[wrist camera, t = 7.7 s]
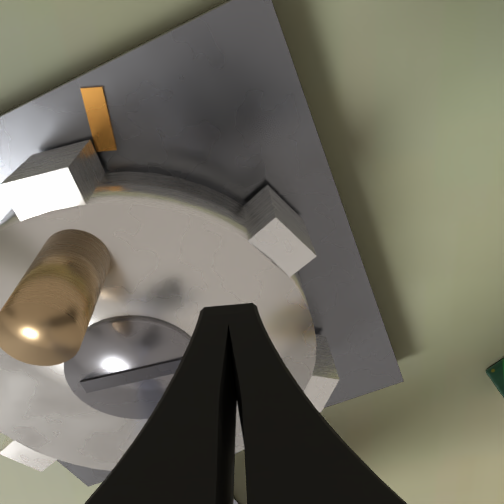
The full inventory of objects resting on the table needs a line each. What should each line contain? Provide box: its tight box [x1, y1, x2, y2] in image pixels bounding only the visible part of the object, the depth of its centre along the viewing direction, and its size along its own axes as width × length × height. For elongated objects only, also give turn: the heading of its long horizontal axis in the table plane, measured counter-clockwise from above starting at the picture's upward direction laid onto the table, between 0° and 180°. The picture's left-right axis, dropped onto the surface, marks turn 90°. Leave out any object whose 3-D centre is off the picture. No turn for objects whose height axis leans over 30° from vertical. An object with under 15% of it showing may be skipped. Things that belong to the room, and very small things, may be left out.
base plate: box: [0, 0, 403, 486], centre depth 22 cm, size 22×22×2 cm
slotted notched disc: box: [0, 140, 339, 472], centre depth 19 cm, size 17×19×7 cm
